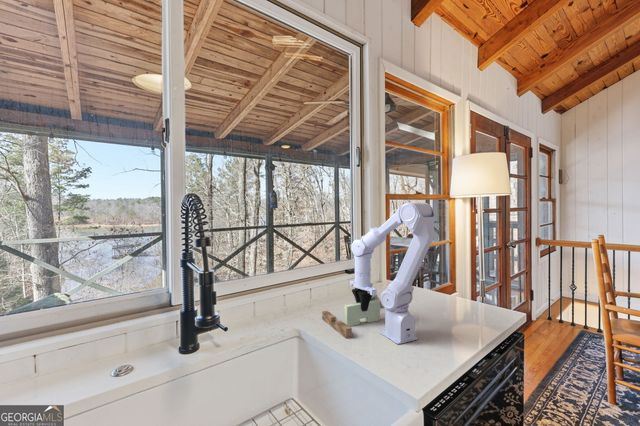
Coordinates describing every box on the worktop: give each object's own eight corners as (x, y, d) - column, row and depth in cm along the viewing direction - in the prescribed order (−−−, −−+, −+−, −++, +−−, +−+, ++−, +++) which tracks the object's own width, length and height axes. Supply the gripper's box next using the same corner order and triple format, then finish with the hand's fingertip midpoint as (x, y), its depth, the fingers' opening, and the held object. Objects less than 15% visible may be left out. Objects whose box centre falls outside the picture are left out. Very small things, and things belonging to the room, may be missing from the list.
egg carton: (378, 303, 129) (378, 294, 129) (384, 309, 121) (384, 299, 121) (354, 304, 127) (354, 295, 127) (359, 310, 120) (359, 300, 120)
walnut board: (351, 337, 95) (351, 328, 95) (346, 338, 94) (346, 329, 94) (326, 318, 111) (326, 310, 111) (322, 319, 110) (322, 311, 110)
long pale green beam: (376, 318, 111) (376, 299, 111) (379, 320, 109) (380, 301, 109) (344, 324, 105) (344, 305, 105) (347, 326, 103) (347, 306, 103)
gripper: (383, 275, 102) (383, 314, 102) (361, 267, 115) (360, 302, 115) (366, 277, 99) (366, 317, 99) (345, 269, 112) (345, 304, 112)
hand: (362, 309), depth 107 cm, fingers closed on long pale green beam, 2 cm apart
